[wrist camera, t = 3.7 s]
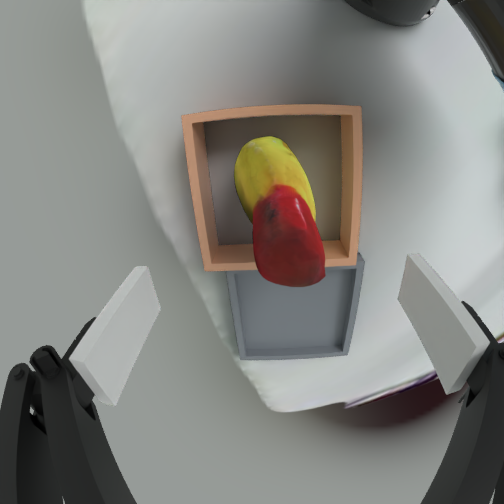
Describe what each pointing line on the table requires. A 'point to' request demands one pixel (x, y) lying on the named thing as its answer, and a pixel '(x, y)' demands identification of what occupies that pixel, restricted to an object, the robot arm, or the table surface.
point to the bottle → (279, 213)
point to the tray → (295, 314)
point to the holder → (198, 170)
